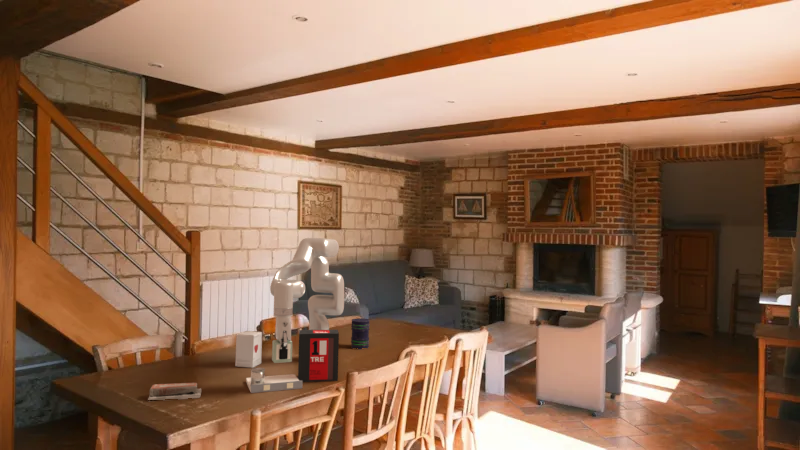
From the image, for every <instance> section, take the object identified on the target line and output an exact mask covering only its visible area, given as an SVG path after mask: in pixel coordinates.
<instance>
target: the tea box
mask: <svg viewBox="0 0 800 450" xmlns="http://www.w3.org/2000/svg"><path fill="white" fill-rule="evenodd" d="M281 341H283V340H281ZM271 344H272V349H271V351H272V352H271V361H272V362H273V363H274V364H279V363H280V364H281V363H292V362H293V341H292V340H291V341H288V340H287V346H288V356H287V359H279V349H280V342H279V341H278V340H277V339H273V340H272V343H271Z"/></svg>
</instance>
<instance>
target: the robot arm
mask: <svg viewBox="0 0 800 450" xmlns="http://www.w3.org/2000/svg"><path fill="white" fill-rule="evenodd" d="M296 248H297V249H296V251H295V253H294V255H293V257H292V260H290V261H288V262H287V263H285V264H284V265H283V266H281V267H279V268H278V270H277V271H276V272H275V274H274V276H273V278H272V281H271V283H270V287H269V288H270V289H269V291H270V293H271V295H272V296H273V315H272V316H273V317H275V340H278V341H279V342H280V349H279V359H287V356H288V346H287V340H288V341H292V320H291V317H293V309H294V307H293V306H294V299H298V298H299V299H300V298H301V297H303V296H304V295H305V292H306V285H305V283H304V282H303V281H302V280H299V279H290V278H291V277H296V276H298V275H302V274H304V273H306V272H308V271H309V270H310V272H311V273H310V282H311V283H310V285H311V290H312V291H313V292H315V293H325V294H315V295H314V294H313V295H311V296H310V297H309V298H308V300H307V308H308V316H309V318H308V320H309V324H308V326H309V328H308V330H330V323H329V320H328V318H327V316H340V315H342V314H343V313H344V308H345V281H344V277H343V276H342V274H340V273H333V272H330V271H329V270H330V269H329V260H328V258H335V257H336V256H338V254H339V250H340V246H339V242H338V240H336V239H335V238H325V237H321V238H320V237H307V238H305V237H304V238H302V239H301V241H300V242H299V244H298V247H296ZM328 293H329V295H328ZM330 294H331V295H330ZM281 340H283V341H281Z"/></svg>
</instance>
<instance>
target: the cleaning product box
mask: <svg viewBox="0 0 800 450" xmlns="http://www.w3.org/2000/svg"><path fill="white" fill-rule="evenodd" d="M339 341H340V334H339V330H338V329H329V330H309V329H299V333H298V359H297V360H298V361H297V362H298V366H297V367H298V368H297V370H298V371H297V378H298V379H299V381H303V383H313V382H315V383H317V382H338V381H339V351H340V350H339V345H340V342H339Z"/></svg>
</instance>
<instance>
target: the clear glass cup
mask: <svg viewBox="0 0 800 450" xmlns="http://www.w3.org/2000/svg"><path fill="white" fill-rule="evenodd" d="M265 373H266V368H264V367H253V368H250V378H251V385H256V384H264V378H265V375H266V374H265Z"/></svg>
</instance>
